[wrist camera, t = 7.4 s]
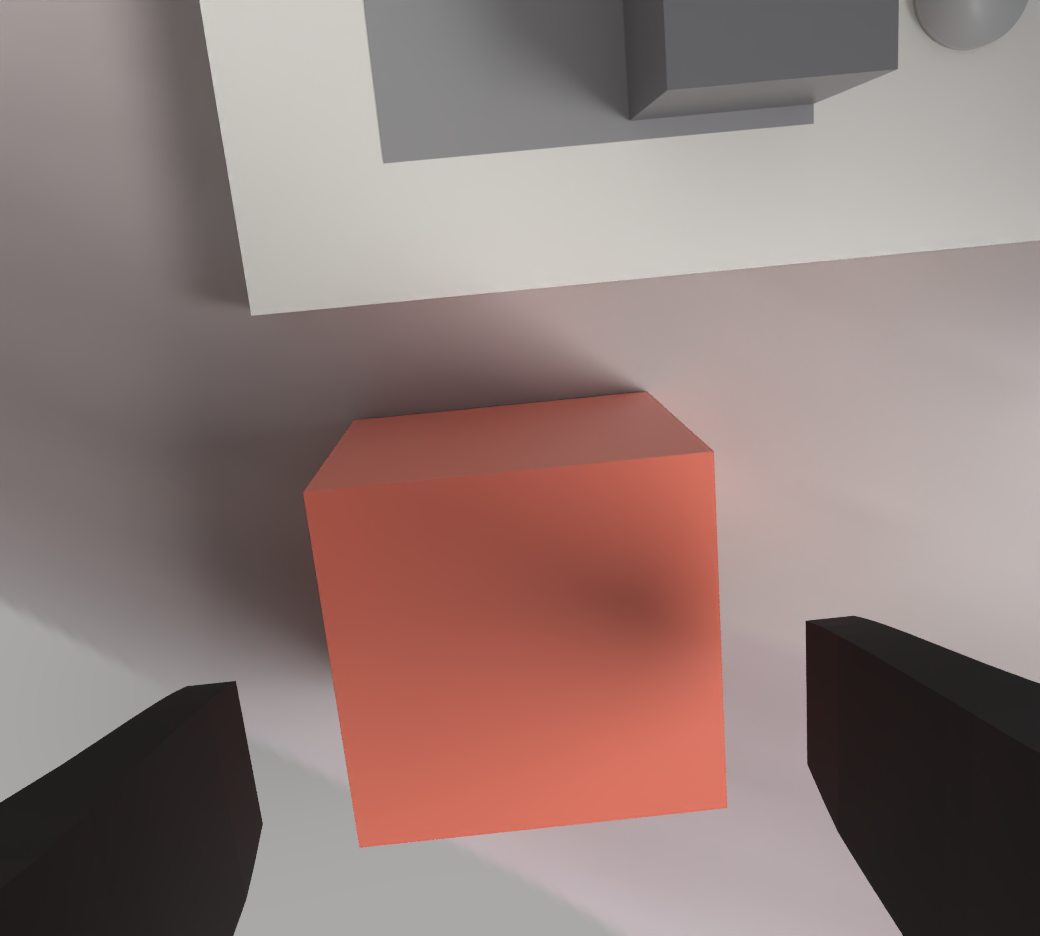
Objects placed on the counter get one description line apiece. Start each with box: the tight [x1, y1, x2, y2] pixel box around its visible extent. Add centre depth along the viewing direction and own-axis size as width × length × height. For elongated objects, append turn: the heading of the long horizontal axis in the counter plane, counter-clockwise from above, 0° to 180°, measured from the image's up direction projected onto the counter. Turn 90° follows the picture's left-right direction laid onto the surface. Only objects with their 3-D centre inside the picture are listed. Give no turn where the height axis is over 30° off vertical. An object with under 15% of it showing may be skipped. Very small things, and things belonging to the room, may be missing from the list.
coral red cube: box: [303, 391, 727, 847], centre depth 15 cm, size 6×6×5 cm
